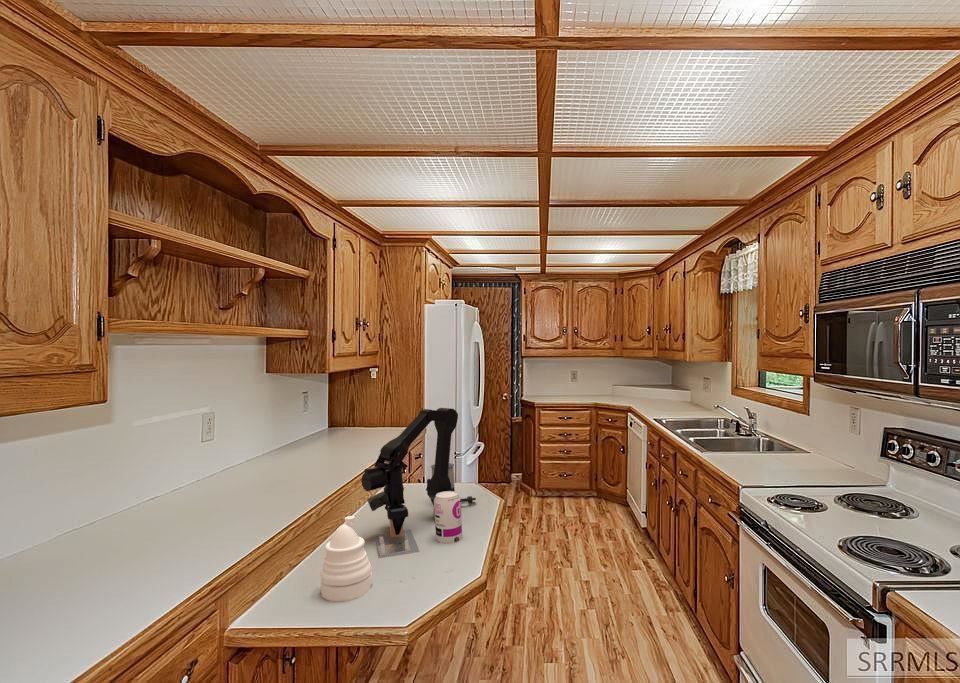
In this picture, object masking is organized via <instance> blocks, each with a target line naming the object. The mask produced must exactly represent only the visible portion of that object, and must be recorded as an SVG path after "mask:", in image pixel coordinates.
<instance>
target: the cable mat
mask: <svg viewBox="0 0 960 683" xmlns="http://www.w3.org/2000/svg"><path fill="white" fill-rule="evenodd" d="M403 533H406V535H407V538H408V544H409V547H410V550H411V552H406V553H400V554H394V555H387V556H381V557H380V554H379V549H378V546H380V538H379V537H381V536H383V539H384V545H389V544H396V543H402V542H403V536H398V537H392V538H391V536H390V531H389V532H382V533H376V534H373V536H374V541H375V546H376V547H375V548H376V551H377V552H376V553H377V557H378V559H383V558H389V557H395V556H402V555H409V554H414V553H420V552H421V551H420V549H419V546H418V544H417V542H416V539H415V536H414V533H413V532H412V529H411V528H410V529H403Z"/></svg>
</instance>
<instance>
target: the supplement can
mask: <svg viewBox="0 0 960 683" xmlns="http://www.w3.org/2000/svg"><path fill="white" fill-rule="evenodd" d="M460 499H461V497H460V496H459V493H458V492H457V491H455V492H454V491H444V492H440V493H437V494H436V497H435V499H434V505H433V512H434V511H435V519H434V525H435V540H436V542H437V543H440V544H454V543H457V542H460V541H461V540H462V539H463V527H462V526H463V525H462V524H463V522H462V510H461V509H462V508H461V505H462V504H461V502H460Z"/></svg>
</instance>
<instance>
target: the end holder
mask: <svg viewBox="0 0 960 683" xmlns="http://www.w3.org/2000/svg"><path fill="white" fill-rule="evenodd" d="M379 538H380V546H378V549H379V554H380V557H381V556H387V555H394V554H400V553H406V552H411V550H410V547H409V544H408V538H407V535H406V533H403V542H402V543H396V544H389V545H384V539H383V536H381V537H379Z"/></svg>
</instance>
